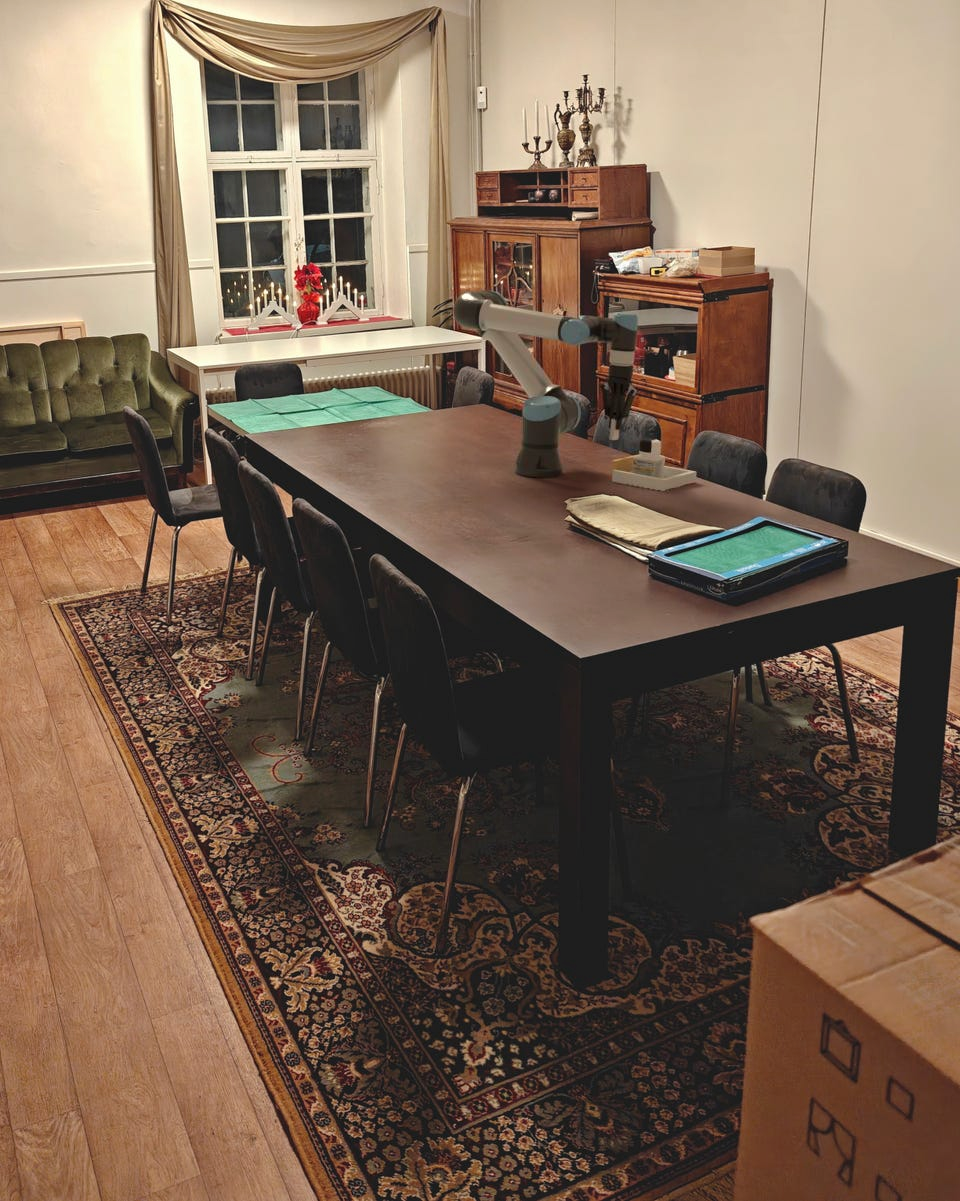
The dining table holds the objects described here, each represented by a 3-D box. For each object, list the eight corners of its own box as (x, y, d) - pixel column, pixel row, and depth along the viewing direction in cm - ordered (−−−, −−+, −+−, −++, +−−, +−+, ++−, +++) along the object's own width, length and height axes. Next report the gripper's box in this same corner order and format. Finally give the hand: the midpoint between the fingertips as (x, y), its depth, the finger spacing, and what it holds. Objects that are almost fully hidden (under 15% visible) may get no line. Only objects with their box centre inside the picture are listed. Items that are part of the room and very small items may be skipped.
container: (631, 481, 355) (634, 439, 351) (640, 477, 361) (643, 436, 357) (654, 484, 351) (657, 442, 347) (663, 480, 357) (667, 439, 353)
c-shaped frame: (663, 491, 342) (664, 480, 341) (611, 481, 353) (612, 470, 352) (695, 482, 356) (696, 471, 355) (645, 473, 367) (646, 462, 366)
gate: (615, 475, 354) (617, 458, 353) (609, 474, 356) (610, 457, 354) (649, 467, 369) (650, 450, 367) (643, 466, 370) (644, 449, 369)
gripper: (645, 366, 352) (637, 441, 360) (611, 360, 360) (604, 434, 368) (631, 367, 347) (623, 444, 355) (597, 362, 355) (590, 437, 363)
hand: (613, 439), depth 361 cm, fingers closed
